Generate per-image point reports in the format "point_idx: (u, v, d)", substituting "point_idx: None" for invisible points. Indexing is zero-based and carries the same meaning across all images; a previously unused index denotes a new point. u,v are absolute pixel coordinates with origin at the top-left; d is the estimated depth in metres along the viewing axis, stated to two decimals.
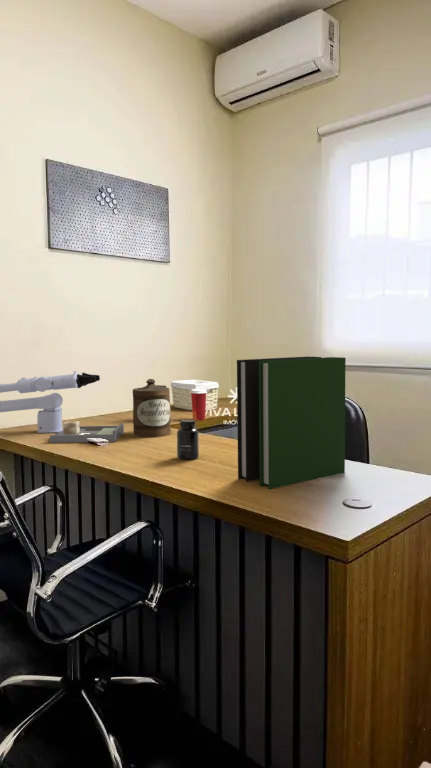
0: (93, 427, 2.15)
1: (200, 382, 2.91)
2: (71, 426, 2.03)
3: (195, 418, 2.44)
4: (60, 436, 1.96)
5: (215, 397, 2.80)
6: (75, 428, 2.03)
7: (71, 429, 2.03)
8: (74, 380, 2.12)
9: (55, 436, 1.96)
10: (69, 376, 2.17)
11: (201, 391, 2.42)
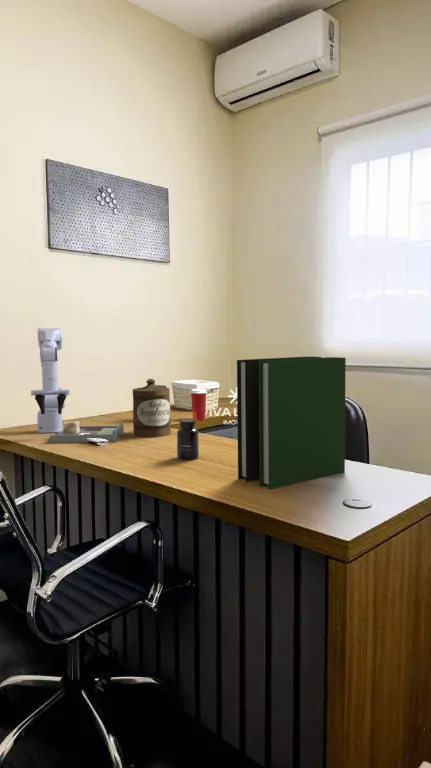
0: (93, 427, 2.15)
1: (201, 382, 2.91)
2: (71, 426, 2.03)
3: (195, 418, 2.44)
4: (60, 436, 1.96)
5: (216, 397, 2.80)
6: (75, 428, 2.03)
7: (71, 429, 2.03)
8: (31, 394, 2.04)
9: (55, 436, 1.96)
10: (43, 386, 2.02)
11: (201, 391, 2.42)
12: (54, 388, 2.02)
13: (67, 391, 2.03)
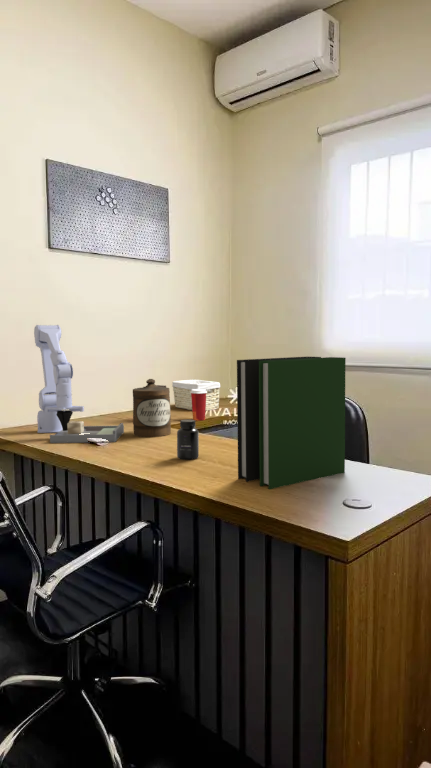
0: (93, 427, 2.15)
1: (201, 382, 2.91)
2: (75, 426, 2.03)
3: (195, 418, 2.44)
4: (60, 436, 1.96)
5: (217, 397, 2.80)
6: (79, 428, 2.03)
7: (75, 429, 2.03)
8: (45, 411, 2.04)
9: (55, 436, 1.96)
10: (57, 403, 2.03)
11: (201, 391, 2.42)
12: (68, 405, 2.03)
13: (81, 408, 2.04)
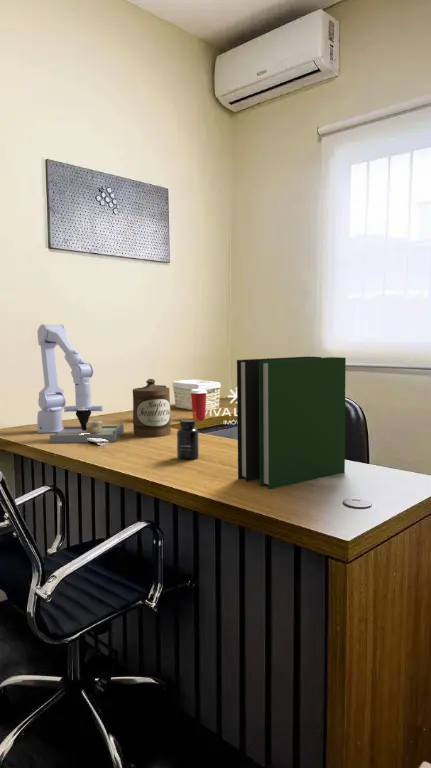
0: None
1: (202, 382, 2.92)
2: (94, 426, 2.03)
3: (195, 418, 2.44)
4: (60, 436, 1.96)
5: (217, 397, 2.81)
6: (98, 428, 2.03)
7: (94, 428, 2.03)
8: (64, 410, 2.04)
9: (55, 436, 1.96)
10: (77, 402, 2.03)
11: (201, 391, 2.42)
12: (87, 405, 2.03)
13: (100, 407, 2.04)
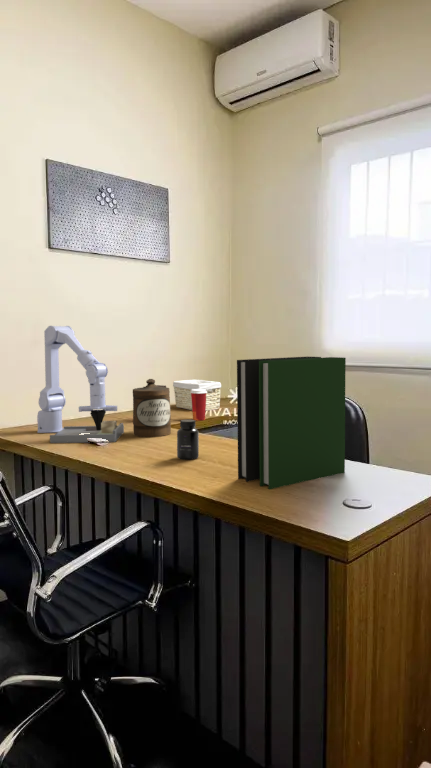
0: (93, 427, 2.15)
1: (202, 382, 2.92)
2: (109, 426, 2.03)
3: (195, 418, 2.44)
4: (60, 436, 1.96)
5: (218, 397, 2.81)
6: (113, 427, 2.03)
7: (109, 428, 2.03)
8: (79, 410, 2.04)
9: (55, 436, 1.96)
10: (91, 402, 2.03)
11: (201, 391, 2.42)
12: (102, 405, 2.03)
13: (115, 407, 2.04)
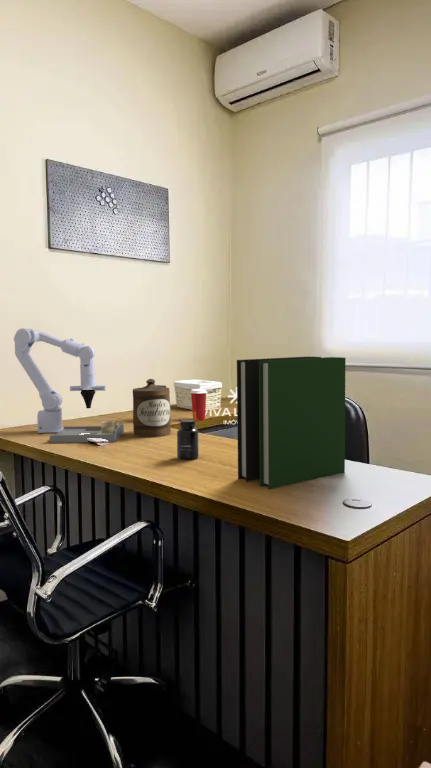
0: (93, 427, 2.15)
1: (203, 382, 2.92)
2: (109, 426, 2.03)
3: (195, 418, 2.44)
4: (60, 436, 1.96)
5: (218, 397, 2.81)
6: (113, 427, 2.03)
7: (109, 428, 2.03)
8: (70, 390, 2.20)
9: (55, 436, 1.96)
10: (82, 382, 2.18)
11: (201, 391, 2.42)
12: (91, 384, 2.18)
13: (103, 387, 2.19)
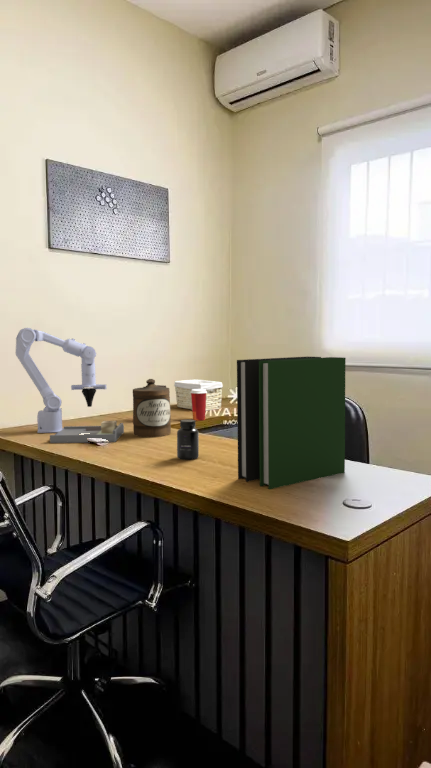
0: (93, 427, 2.15)
1: (203, 382, 2.92)
2: (109, 426, 2.03)
3: (195, 418, 2.44)
4: (60, 436, 1.96)
5: (219, 397, 2.81)
6: (113, 427, 2.03)
7: (109, 428, 2.03)
8: None
9: (55, 436, 1.96)
10: (83, 381, 2.23)
11: (201, 391, 2.42)
12: (93, 383, 2.23)
13: (104, 386, 2.24)
